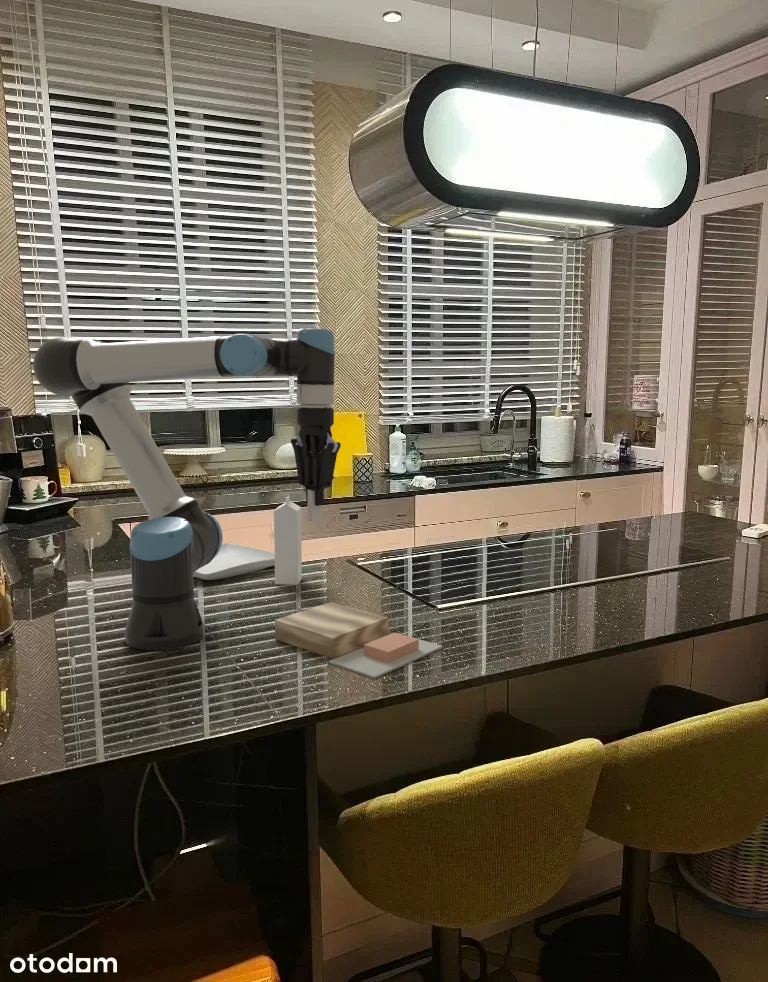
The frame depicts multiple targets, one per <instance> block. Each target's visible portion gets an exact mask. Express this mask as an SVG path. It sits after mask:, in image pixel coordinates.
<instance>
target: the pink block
mask: <svg viewBox="0 0 768 982" xmlns="http://www.w3.org/2000/svg"><path fill="white" fill-rule="evenodd" d="M412 637H413V636H408V635H406V636H405V634H401V633H399V634H398V632H392V633H390V634H389V633H388V635H387V636H384V637H382V638H379V639H377V640H374V641H372V642H369V643H367V644H364V655H366V656H369V657H372V658H375V659H378V660H382V661H385V662H388V663H389V662H391V661H393V660H396V659H398V658H400V657H403V656H405V655H407V654H409V653H412V652H414V651H416V650H419V639H420V638H417V637H413V638H412Z"/></svg>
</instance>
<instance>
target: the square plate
mask: <svg viewBox="0 0 768 982" xmlns="http://www.w3.org/2000/svg"><path fill="white" fill-rule="evenodd" d="M273 566H274V567H275V552H273V551H269V550H265V549H261V548H257V547H251V546H247V545H243V544H237V543H232V542H231V543H230V542H226V543H222V545H221V548H220V550H219V552H218V554H217V555H216V556H215V557H214V558H213V560H212V561H211V562H210V563H209V564H207V565H205V566H203V567H201V568H199V569H198V570H196V571H195V572H193V578H196V579H199V580H204V581H205V580H206V581H217V580H223V579H228V578H231V577H236V576H240V575H245V574H248V573H253V572H257V571H262V570H264V569H267V568H271V567H273Z"/></svg>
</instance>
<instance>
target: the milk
mask: <svg viewBox="0 0 768 982" xmlns="http://www.w3.org/2000/svg"><path fill="white" fill-rule="evenodd" d="M284 501H285V503H284V502H283V504H281V505H279V506H277V507H276V508H275V509H274V510H273V531H274V533H273V535H274V536H273V537H274V545H273V547H274V553H275V565H274V585H295V586H297V585H299V584H300V583H301V581H302V578H303V573H302V571H303V570H302V569H303V567H302V565H303V564H302V563H303V559H302V555H303V553H302V507H301V506H299V505H298V504H296V503H294V502H293V501H291V498H290V494H288V495H287V496H286V497H285V500H284Z"/></svg>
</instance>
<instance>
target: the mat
mask: <svg viewBox="0 0 768 982" xmlns="http://www.w3.org/2000/svg"><path fill="white" fill-rule="evenodd" d="M397 633H398V632H397ZM398 634H400V633H398ZM404 635H405V634H404ZM405 636H407V635H405ZM411 637H412V638H414V637H413V636H411ZM418 639H419V650H416V651H414V652H412V653H409V654H407V655H405V656H403V657H400V658H398V659H396V660H393V661H391V662H389V663H388V662H385V661H382V660H378V659H375V658H372V657H369V656H366V655H364V647H361V648H359V649H356V650H354V651H351V652H348V653H346V654H343V655H341V656H338V657H336V658H333V659H330V660H329V661H328V663H329V664H331V665H334V666H337V667H339V668H343V669H346V670H348V671H351V672H354V673H357V674H359V675H363V676H366V677H368V678H370V679H371V678H372V679H374V680H375V679H377V678H379V677H381V676H383V675H385V674H389V673H390V672H393V671H394V670H395V671H396V669H399V668H401V667H403V666H406V665H408V664H410V663H412V662H414V661H416V660H419V659H422V658H424V657H426V656H428V655H430V654H432V653H435V652H437V651H439V650H441V649H443V645H441V644H437V643H434V642H430V641H426V640H422V639H420V638H418Z"/></svg>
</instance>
